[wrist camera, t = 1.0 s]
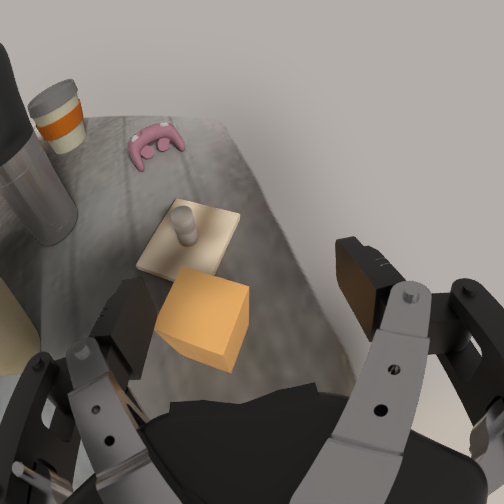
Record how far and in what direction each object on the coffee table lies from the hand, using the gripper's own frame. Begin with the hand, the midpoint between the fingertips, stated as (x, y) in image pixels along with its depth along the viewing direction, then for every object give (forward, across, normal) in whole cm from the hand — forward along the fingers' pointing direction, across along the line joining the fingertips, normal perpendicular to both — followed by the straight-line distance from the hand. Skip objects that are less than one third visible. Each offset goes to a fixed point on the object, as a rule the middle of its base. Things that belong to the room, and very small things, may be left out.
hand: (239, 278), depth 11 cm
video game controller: (+42, +14, -3) cm, 44 cm away
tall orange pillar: (+13, +6, +16) cm, 21 cm away
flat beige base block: (+24, +8, +8) cm, 27 cm away
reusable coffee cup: (+52, +38, -12) cm, 66 cm away
